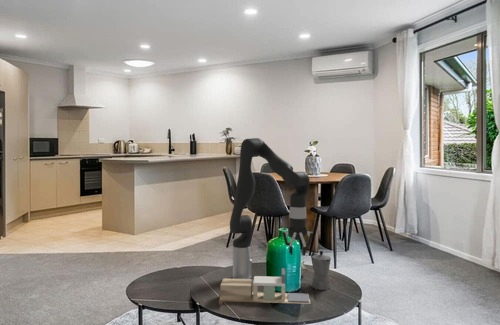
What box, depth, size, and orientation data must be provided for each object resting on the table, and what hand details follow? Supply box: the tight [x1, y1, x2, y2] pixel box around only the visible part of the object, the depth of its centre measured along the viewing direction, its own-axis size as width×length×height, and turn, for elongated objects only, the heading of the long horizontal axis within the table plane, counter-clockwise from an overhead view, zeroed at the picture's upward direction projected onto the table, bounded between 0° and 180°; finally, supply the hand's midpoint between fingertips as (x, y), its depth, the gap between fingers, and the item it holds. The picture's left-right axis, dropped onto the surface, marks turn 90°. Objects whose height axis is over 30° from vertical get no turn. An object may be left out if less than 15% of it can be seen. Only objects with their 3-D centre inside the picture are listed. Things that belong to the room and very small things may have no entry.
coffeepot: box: [310, 250, 332, 291], centre depth 197 cm, size 15×9×18 cm, turn 23°
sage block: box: [263, 286, 276, 300], centre depth 178 cm, size 5×5×6 cm
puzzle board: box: [218, 277, 311, 305], centre depth 179 cm, size 12×40×8 cm, turn 86°
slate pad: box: [287, 292, 310, 302], centre depth 178 cm, size 9×9×1 cm
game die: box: [300, 261, 308, 278], centre depth 213 cm, size 9×8×10 cm
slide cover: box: [252, 267, 286, 287], centre depth 178 cm, size 9×14×5 cm, turn 86°
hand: (297, 254), depth 177 cm, fingers open, 4 cm apart
